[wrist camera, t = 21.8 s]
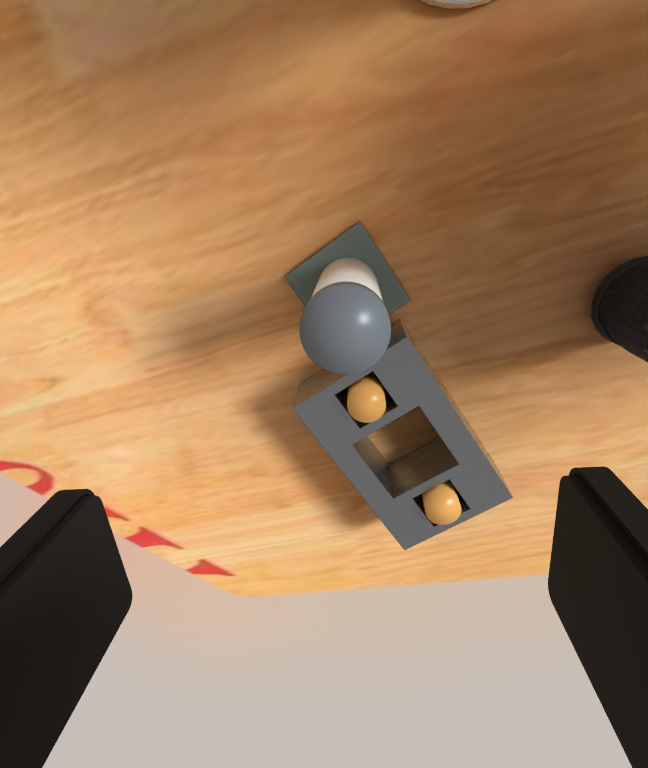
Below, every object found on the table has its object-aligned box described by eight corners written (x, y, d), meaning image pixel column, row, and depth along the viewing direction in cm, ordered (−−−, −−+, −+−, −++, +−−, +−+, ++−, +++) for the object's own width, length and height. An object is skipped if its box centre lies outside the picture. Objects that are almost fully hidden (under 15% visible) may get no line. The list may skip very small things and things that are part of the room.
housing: (300, 384, 39) (292, 408, 34) (400, 319, 36) (406, 337, 31) (399, 512, 43) (404, 550, 39) (495, 463, 41) (512, 497, 36)
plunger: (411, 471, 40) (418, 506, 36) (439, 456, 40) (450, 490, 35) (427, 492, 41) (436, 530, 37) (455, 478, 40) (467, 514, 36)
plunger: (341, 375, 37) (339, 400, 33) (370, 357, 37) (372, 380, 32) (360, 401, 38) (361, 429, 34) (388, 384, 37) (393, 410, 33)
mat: (285, 275, 35) (284, 277, 35) (360, 220, 33) (360, 221, 33) (336, 346, 37) (336, 348, 37) (409, 298, 35) (410, 300, 35)
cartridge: (313, 258, 34) (294, 289, 23) (377, 253, 34) (389, 281, 23) (319, 320, 36) (304, 376, 25) (380, 316, 36) (392, 371, 24)
